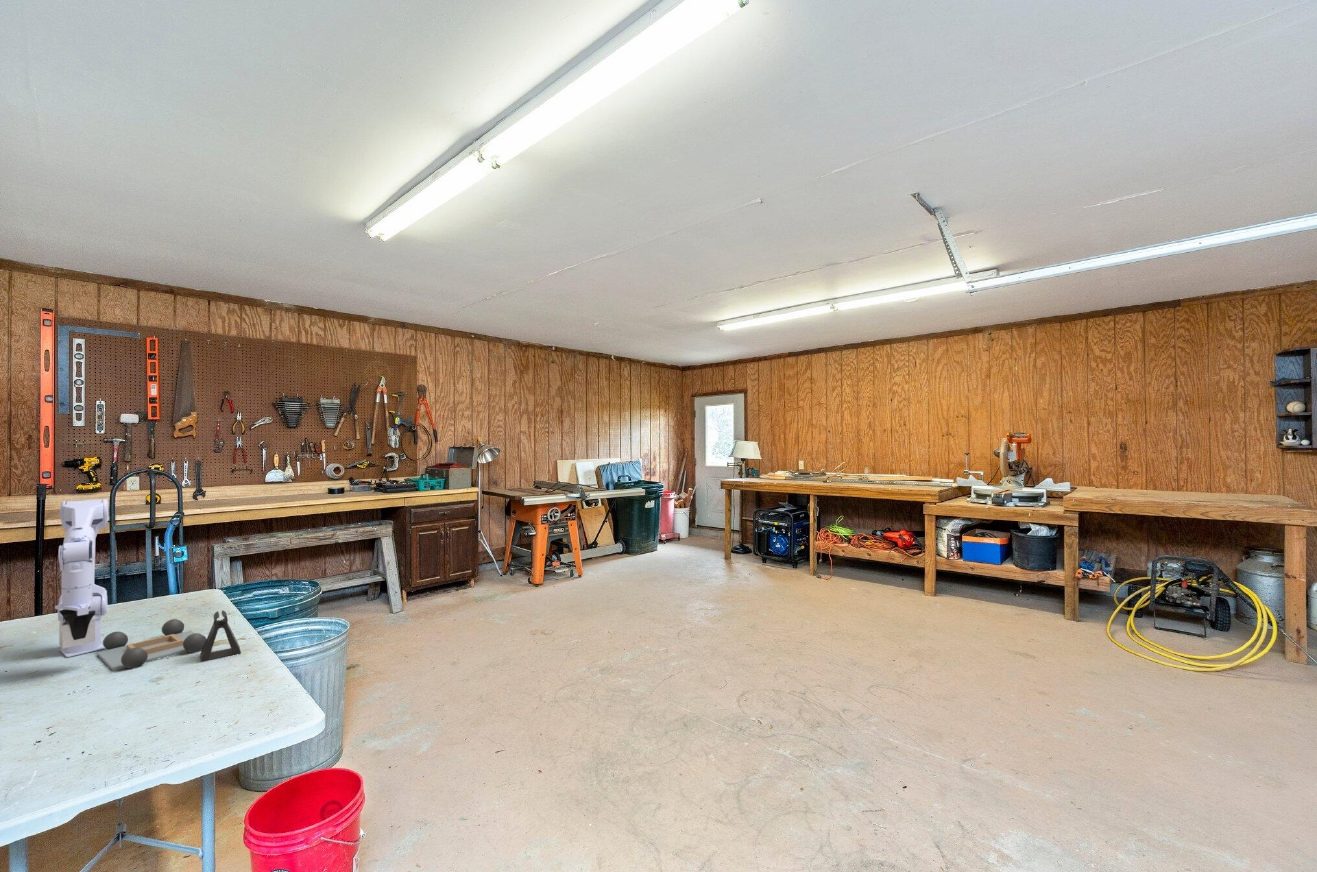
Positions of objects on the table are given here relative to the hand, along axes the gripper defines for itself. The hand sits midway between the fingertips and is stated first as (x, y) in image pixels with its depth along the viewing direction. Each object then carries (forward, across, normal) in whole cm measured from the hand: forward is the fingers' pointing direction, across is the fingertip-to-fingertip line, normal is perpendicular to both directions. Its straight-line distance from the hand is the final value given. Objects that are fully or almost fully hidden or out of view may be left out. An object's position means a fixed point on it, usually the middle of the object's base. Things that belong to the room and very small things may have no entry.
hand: (77, 636), depth 147 cm
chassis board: (+9, 0, +16) cm, 18 cm away
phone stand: (+9, +19, +26) cm, 33 cm away
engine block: (+2, 0, 0) cm, 2 cm away
